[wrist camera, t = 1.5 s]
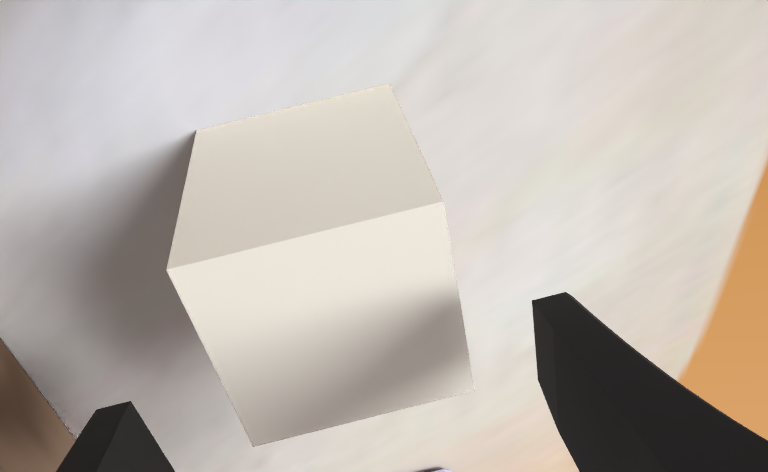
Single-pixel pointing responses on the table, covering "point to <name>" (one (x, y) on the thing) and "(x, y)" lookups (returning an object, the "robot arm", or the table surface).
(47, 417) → the walnut plinth
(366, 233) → the cream cube
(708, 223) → the table surface
